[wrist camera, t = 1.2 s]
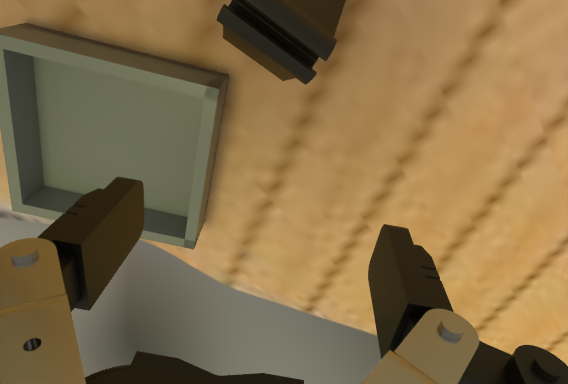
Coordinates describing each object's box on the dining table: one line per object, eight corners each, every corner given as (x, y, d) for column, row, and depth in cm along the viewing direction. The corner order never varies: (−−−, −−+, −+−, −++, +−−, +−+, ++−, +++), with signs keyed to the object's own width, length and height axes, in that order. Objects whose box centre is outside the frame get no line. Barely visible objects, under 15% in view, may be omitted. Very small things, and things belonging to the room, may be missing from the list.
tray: (40, 186, 40) (12, 210, 36) (25, 23, 32) (-14, 31, 28) (204, 222, 41) (193, 249, 37) (228, 74, 33) (219, 89, 29)
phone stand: (282, 79, 33) (274, 131, 23) (223, 36, 32) (185, 70, 21) (351, -17, 29) (377, -7, 19) (287, -72, 28) (278, -94, 17)
